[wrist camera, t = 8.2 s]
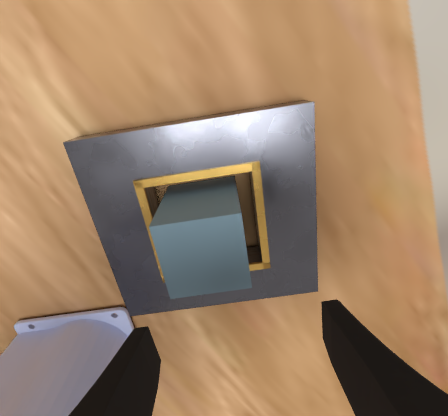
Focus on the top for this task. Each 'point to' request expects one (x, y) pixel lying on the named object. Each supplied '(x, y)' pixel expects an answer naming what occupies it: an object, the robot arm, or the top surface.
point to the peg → (201, 238)
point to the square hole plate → (200, 169)
